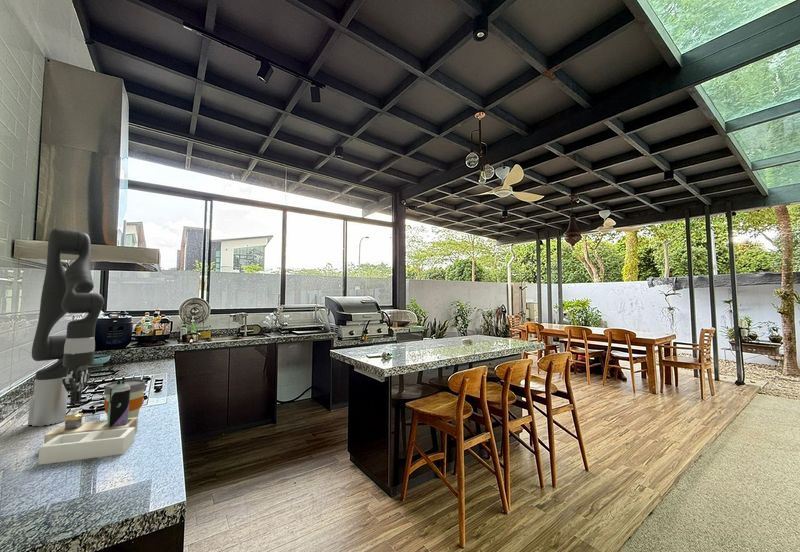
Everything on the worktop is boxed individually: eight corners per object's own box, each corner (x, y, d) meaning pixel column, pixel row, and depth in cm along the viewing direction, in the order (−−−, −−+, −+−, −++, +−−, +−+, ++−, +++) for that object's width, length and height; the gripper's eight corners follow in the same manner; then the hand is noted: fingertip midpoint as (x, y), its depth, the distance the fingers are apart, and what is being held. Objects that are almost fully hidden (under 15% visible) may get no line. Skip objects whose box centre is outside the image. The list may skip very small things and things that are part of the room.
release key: (60, 435, 106) (61, 418, 107) (68, 430, 110) (69, 413, 111) (77, 433, 108) (78, 416, 108) (84, 428, 112) (85, 412, 112)
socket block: (43, 451, 103) (44, 434, 103) (60, 439, 111) (61, 424, 112) (126, 441, 111) (128, 426, 111) (137, 431, 119) (138, 417, 120)
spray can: (114, 442, 110) (119, 382, 111) (101, 440, 111) (106, 381, 112) (130, 435, 115) (135, 378, 117) (118, 434, 116) (122, 377, 118)
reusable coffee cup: (106, 419, 130) (109, 381, 131) (145, 414, 136) (148, 377, 137) (96, 430, 119) (100, 388, 120) (139, 424, 125) (142, 384, 126)
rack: (37, 464, 95) (39, 447, 95) (56, 451, 103) (58, 435, 103) (122, 454, 102) (124, 437, 102) (134, 442, 110) (135, 427, 111)
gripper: (76, 348, 116) (72, 398, 115) (53, 354, 104) (48, 410, 102) (102, 347, 119) (99, 396, 117) (83, 353, 106) (78, 407, 105)
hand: (75, 402), depth 110 cm, fingers closed
